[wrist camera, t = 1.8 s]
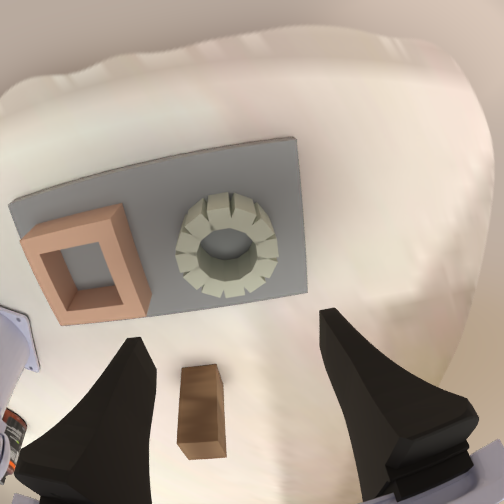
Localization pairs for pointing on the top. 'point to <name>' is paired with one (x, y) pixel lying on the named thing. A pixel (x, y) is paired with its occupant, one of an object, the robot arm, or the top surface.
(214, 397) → the square bit
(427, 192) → the top surface
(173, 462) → the top surface
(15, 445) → the supplement bottle
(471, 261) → the top surface
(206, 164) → the socket block
